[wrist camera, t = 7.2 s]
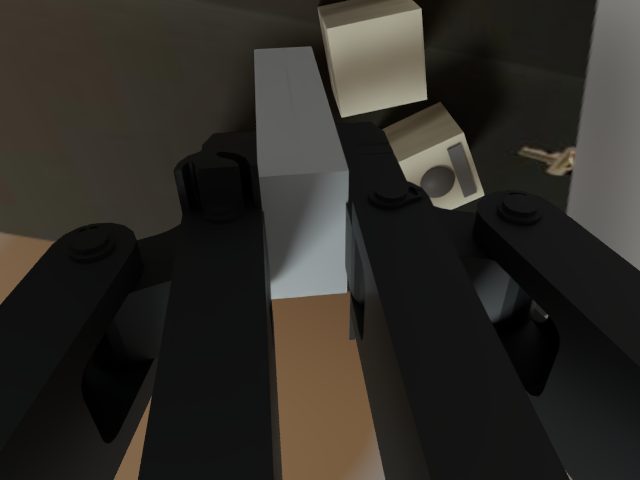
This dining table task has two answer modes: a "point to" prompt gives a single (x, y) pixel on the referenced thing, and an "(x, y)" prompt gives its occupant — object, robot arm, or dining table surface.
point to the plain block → (374, 53)
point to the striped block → (436, 156)
